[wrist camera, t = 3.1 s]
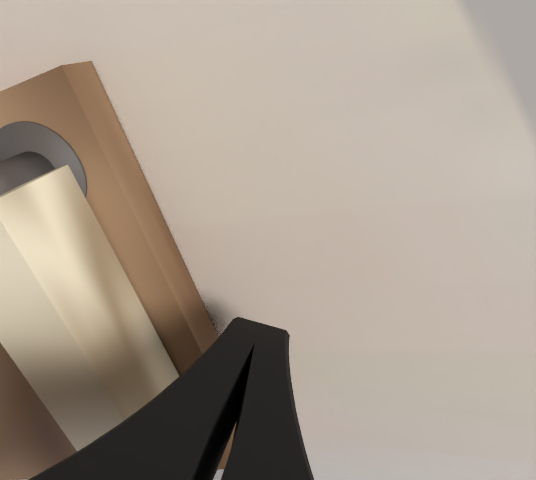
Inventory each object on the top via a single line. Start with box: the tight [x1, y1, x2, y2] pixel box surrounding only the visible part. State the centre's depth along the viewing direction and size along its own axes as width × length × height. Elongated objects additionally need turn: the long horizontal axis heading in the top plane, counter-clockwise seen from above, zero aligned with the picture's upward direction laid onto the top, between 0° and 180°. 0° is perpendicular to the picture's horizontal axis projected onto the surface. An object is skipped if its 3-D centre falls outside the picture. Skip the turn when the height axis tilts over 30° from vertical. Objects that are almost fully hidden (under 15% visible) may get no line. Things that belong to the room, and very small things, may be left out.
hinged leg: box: [0, 151, 179, 451], centre depth 11 cm, size 9×2×3 cm, turn 19°
